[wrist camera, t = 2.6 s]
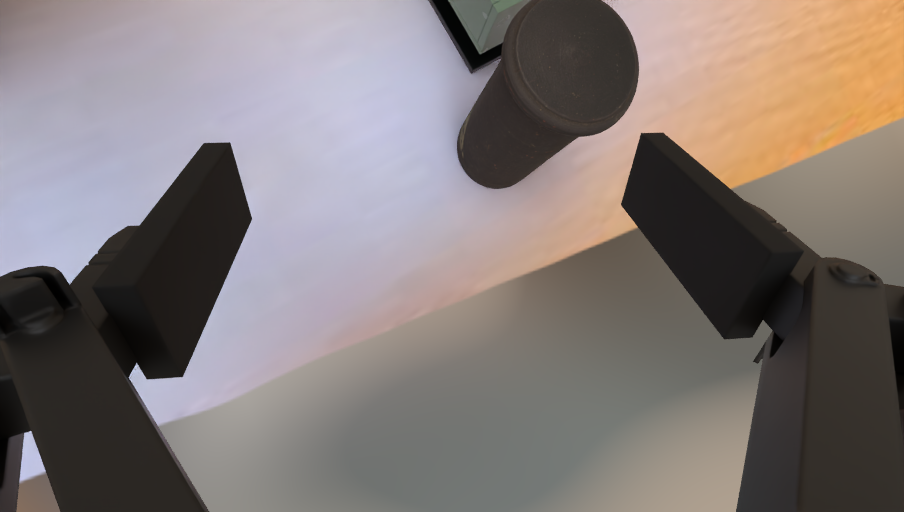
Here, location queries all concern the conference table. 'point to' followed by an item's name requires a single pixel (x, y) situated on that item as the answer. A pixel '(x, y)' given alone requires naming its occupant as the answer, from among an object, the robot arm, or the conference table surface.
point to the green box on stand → (477, 27)
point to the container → (549, 88)
